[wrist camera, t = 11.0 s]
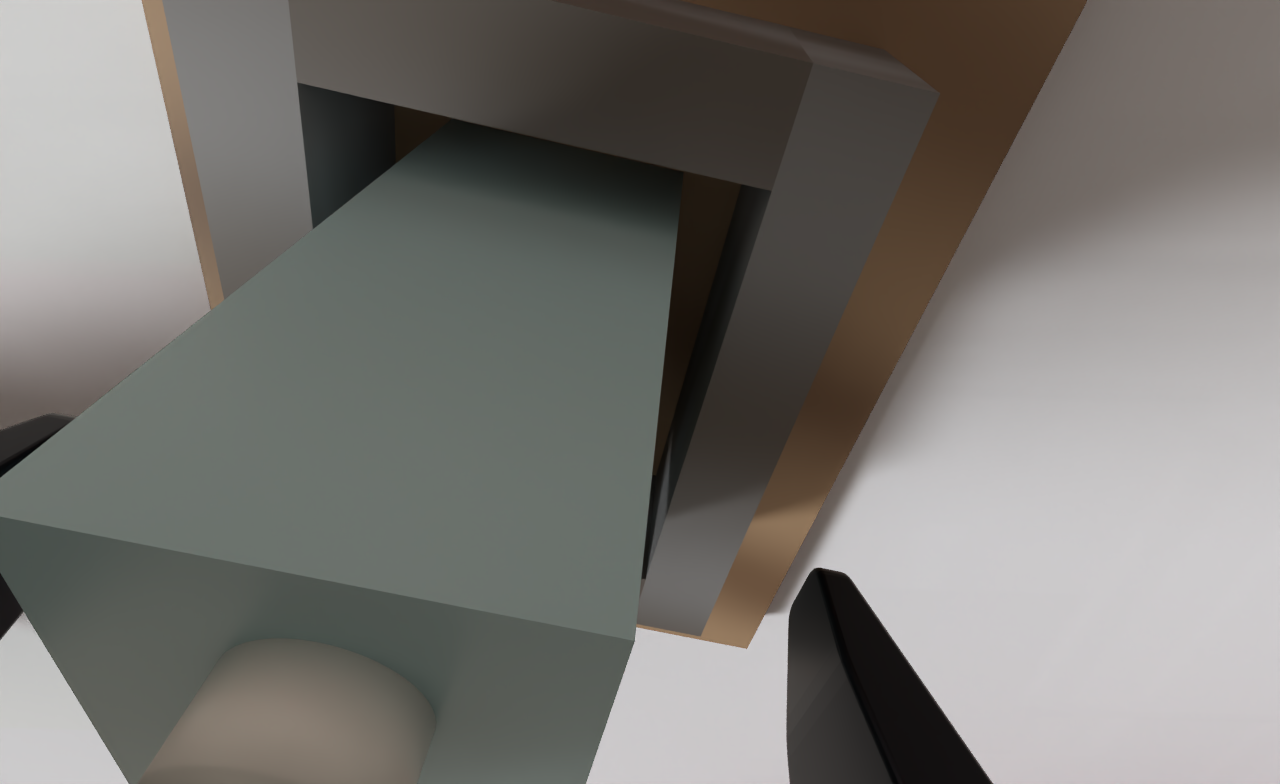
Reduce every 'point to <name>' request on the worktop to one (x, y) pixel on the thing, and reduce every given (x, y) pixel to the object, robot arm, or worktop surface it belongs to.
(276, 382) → the block
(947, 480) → the worktop surface
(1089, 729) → the worktop surface
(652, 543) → the caddy
